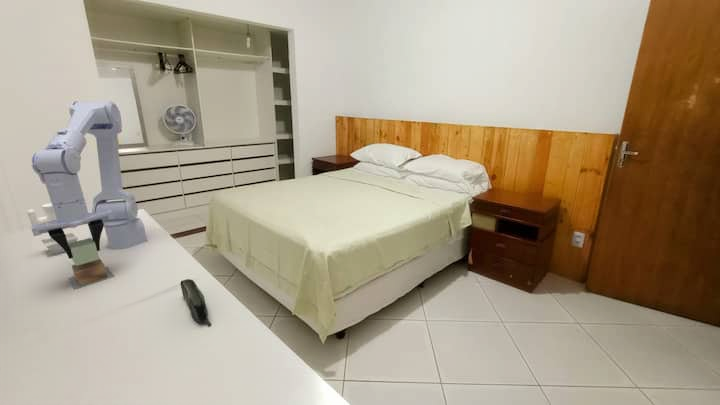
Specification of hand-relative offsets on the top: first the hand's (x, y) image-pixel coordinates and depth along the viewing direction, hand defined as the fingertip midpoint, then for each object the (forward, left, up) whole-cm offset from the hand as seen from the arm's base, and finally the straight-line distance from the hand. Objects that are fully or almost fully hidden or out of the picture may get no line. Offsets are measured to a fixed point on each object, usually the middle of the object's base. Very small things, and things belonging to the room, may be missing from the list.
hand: (84, 253), depth 77 cm
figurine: (+2, -31, -8) cm, 32 cm away
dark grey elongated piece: (-13, +32, -9) cm, 35 cm away
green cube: (0, 0, -2) cm, 2 cm away
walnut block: (0, 0, -7) cm, 7 cm away
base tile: (0, 0, -8) cm, 8 cm away
